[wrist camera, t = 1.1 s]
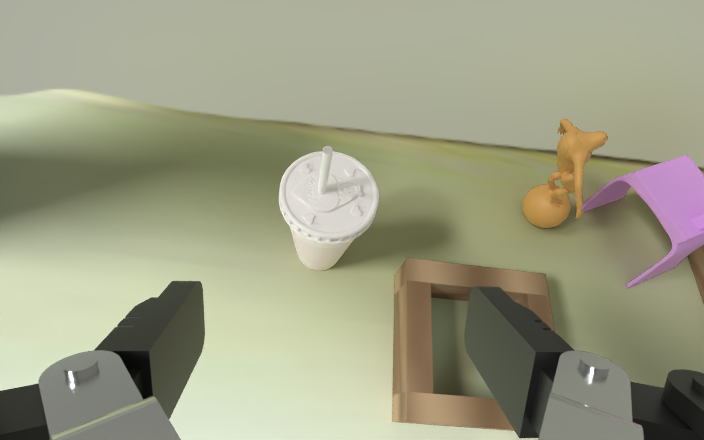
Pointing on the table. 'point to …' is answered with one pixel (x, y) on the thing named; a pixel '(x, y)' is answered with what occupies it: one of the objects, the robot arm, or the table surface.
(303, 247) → the smoothie
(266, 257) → the table surface
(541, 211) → the figurine
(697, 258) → the tray rim
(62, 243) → the table surface
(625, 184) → the toy chair
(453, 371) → the holder
